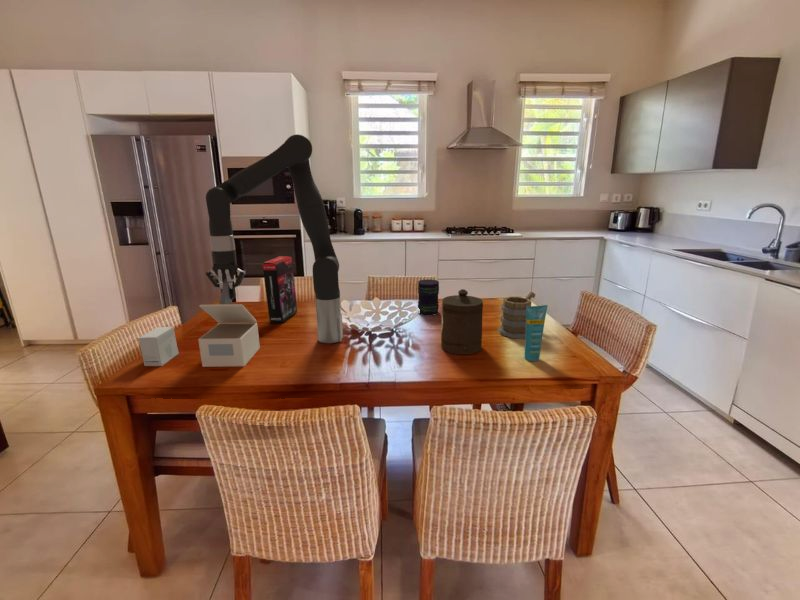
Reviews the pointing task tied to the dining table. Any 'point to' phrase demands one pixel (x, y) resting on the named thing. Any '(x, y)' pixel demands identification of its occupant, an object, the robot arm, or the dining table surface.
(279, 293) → the graphics card box
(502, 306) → the tankard
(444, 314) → the wooden container
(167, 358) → the skincare box
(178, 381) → the dining table surface
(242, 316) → the flap
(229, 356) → the carton
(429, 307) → the storage jar
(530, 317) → the tube
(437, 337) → the dining table surface
